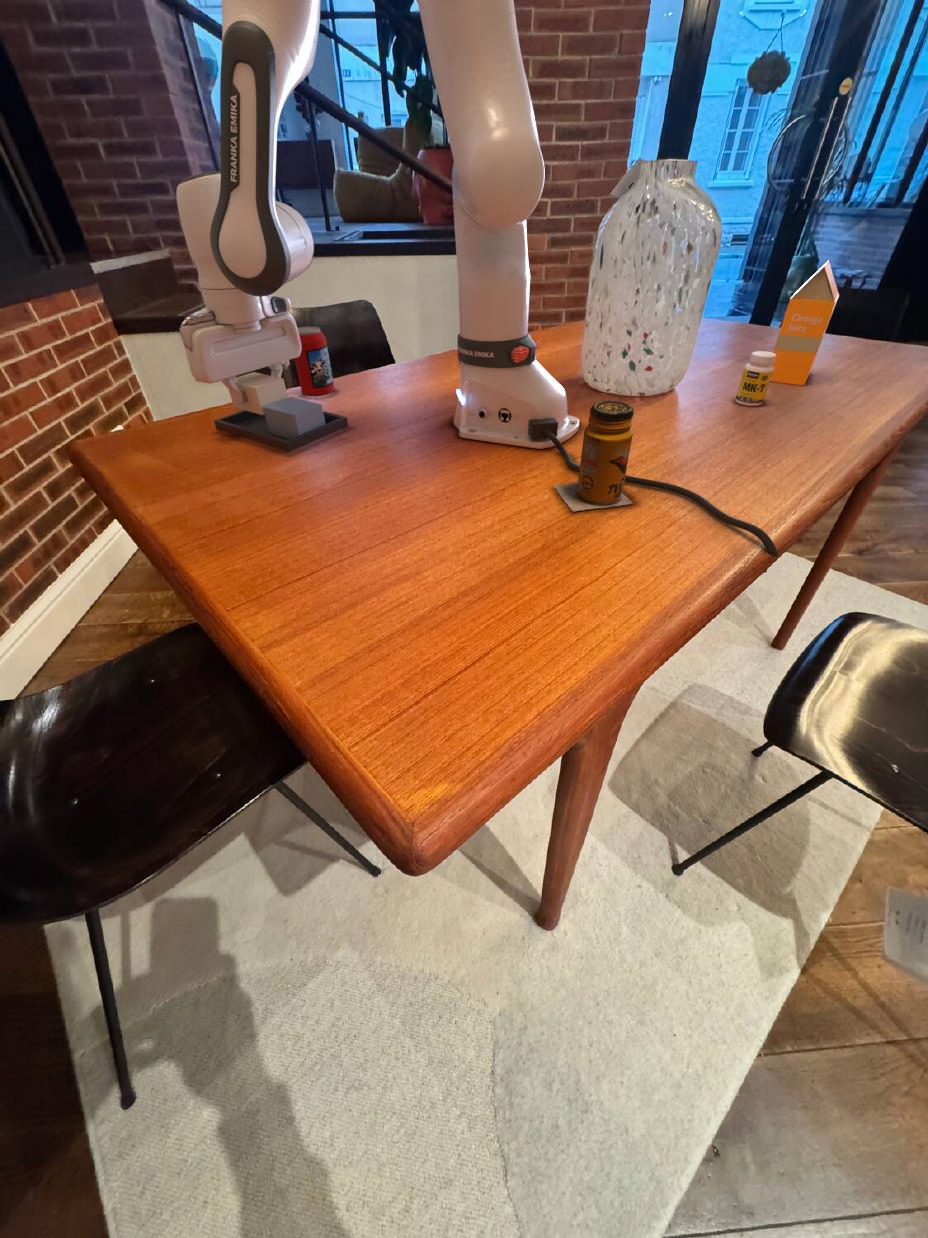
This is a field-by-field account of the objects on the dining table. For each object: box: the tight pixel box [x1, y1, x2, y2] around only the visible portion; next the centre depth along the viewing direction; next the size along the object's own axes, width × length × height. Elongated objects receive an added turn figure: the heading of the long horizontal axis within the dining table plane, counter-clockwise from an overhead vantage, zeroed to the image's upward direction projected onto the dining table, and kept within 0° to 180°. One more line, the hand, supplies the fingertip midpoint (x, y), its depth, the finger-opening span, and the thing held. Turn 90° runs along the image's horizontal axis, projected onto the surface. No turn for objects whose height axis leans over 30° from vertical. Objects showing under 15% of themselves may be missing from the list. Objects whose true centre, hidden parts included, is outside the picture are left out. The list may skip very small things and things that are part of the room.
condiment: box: [554, 400, 635, 512], centre depth 68 cm, size 7×8×12 cm
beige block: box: [228, 371, 289, 415], centre depth 92 cm, size 8×6×4 cm
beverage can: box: [293, 326, 335, 397], centre depth 105 cm, size 7×7×12 cm
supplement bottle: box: [734, 350, 776, 407], centre depth 95 cm, size 5×5×8 cm
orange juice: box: [770, 259, 840, 386], centre depth 103 cm, size 8×9×20 cm
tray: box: [213, 409, 349, 453], centre depth 93 cm, size 20×14×2 cm
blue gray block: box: [263, 396, 325, 439], centre depth 90 cm, size 8×6×4 cm
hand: (259, 396), depth 92 cm, fingers closed on beige block, 6 cm apart
